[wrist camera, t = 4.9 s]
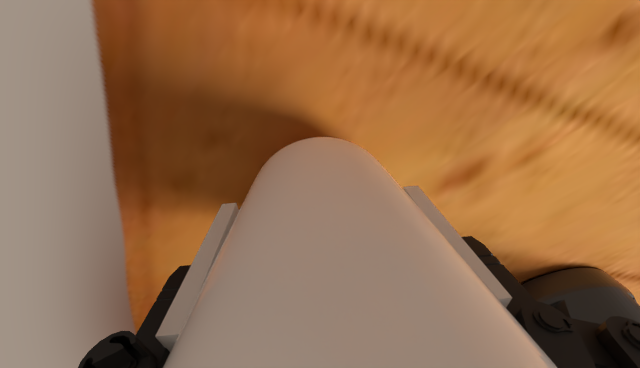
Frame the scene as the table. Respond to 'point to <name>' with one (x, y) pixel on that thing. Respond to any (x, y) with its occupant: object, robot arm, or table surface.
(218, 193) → the table surface
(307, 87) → the table surface
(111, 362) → the robot arm
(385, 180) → the candle holder
